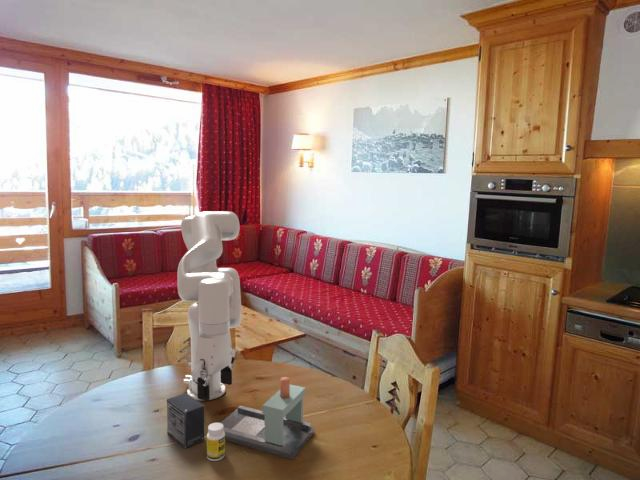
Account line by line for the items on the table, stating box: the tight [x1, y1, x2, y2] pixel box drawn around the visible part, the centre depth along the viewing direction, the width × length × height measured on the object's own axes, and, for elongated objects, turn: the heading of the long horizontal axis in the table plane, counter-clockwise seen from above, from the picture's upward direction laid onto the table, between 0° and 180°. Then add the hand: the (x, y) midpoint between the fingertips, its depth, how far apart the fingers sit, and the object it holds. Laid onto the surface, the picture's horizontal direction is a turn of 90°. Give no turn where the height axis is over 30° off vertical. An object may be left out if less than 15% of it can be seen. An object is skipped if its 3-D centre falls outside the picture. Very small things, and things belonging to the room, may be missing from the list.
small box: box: [166, 392, 205, 449], centre depth 130 cm, size 11×6×10 cm, turn 45°
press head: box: [262, 376, 306, 445], centre depth 128 cm, size 6×14×15 cm, turn 157°
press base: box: [220, 405, 315, 461], centre depth 132 cm, size 26×14×3 cm, turn 67°
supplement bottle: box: [206, 422, 226, 462], centre depth 121 cm, size 5×5×8 cm
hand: (215, 391), depth 119 cm, fingers open, 9 cm apart
